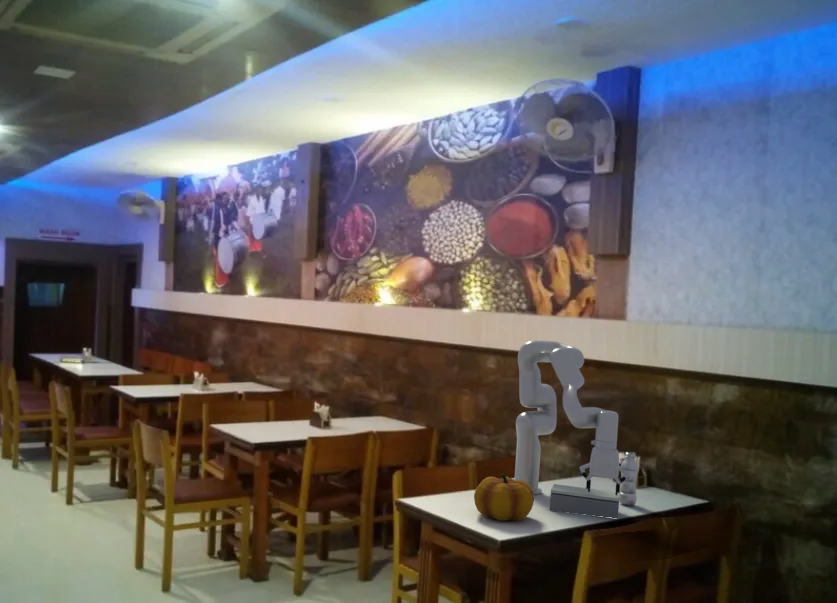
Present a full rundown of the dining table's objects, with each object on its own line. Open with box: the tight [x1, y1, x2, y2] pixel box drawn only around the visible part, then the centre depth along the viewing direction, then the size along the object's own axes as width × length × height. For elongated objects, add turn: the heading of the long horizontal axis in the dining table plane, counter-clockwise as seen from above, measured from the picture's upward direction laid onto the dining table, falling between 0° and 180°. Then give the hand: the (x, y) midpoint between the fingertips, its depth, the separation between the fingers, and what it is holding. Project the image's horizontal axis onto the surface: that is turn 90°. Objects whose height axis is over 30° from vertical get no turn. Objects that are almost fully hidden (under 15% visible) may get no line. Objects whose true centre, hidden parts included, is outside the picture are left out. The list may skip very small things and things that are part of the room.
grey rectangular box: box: [549, 492, 620, 520], centre depth 283 cm, size 24×12×6 cm, turn 74°
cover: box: [550, 483, 620, 503], centre depth 283 cm, size 24×12×1 cm, turn 74°
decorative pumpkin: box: [473, 473, 535, 522], centre depth 267 cm, size 20×22×15 cm
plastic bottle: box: [619, 451, 639, 506], centre depth 297 cm, size 6×7×20 cm
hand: (602, 492), depth 278 cm, fingers open, 9 cm apart
